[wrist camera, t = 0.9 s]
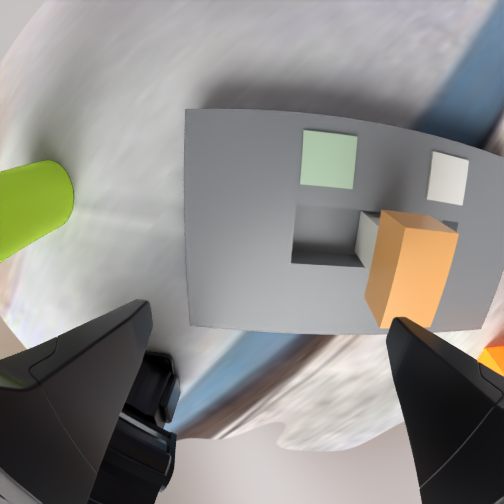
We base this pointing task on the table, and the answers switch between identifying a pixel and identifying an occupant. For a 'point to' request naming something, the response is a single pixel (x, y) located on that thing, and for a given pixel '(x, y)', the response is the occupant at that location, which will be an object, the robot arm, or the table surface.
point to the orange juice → (493, 358)
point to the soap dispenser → (32, 204)
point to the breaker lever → (404, 264)
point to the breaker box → (326, 218)
